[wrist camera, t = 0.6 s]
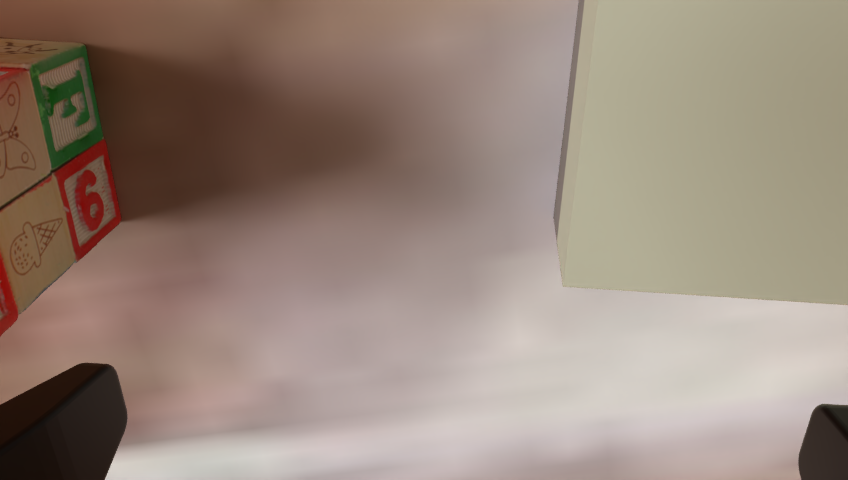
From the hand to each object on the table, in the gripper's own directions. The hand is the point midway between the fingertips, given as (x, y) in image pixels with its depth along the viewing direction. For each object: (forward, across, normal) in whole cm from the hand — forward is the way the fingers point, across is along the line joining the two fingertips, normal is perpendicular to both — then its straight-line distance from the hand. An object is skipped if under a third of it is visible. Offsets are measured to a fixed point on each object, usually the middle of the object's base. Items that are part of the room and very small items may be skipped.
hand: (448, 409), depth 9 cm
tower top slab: (+11, -8, -2) cm, 14 cm away
